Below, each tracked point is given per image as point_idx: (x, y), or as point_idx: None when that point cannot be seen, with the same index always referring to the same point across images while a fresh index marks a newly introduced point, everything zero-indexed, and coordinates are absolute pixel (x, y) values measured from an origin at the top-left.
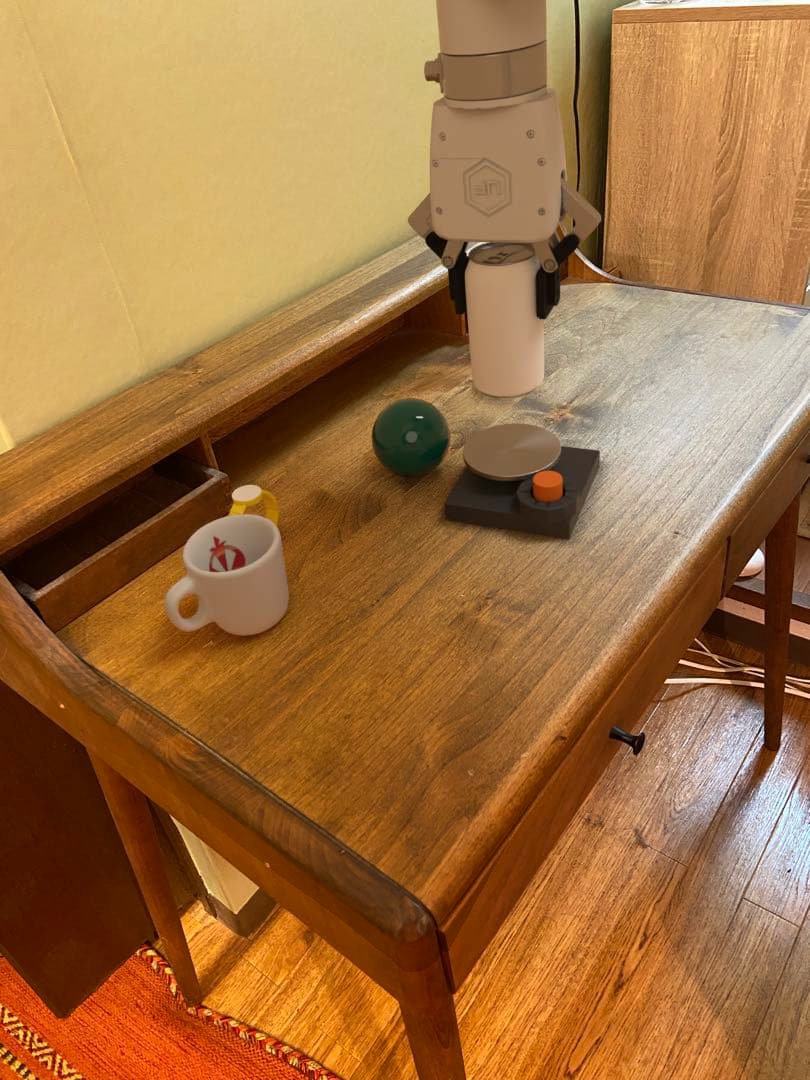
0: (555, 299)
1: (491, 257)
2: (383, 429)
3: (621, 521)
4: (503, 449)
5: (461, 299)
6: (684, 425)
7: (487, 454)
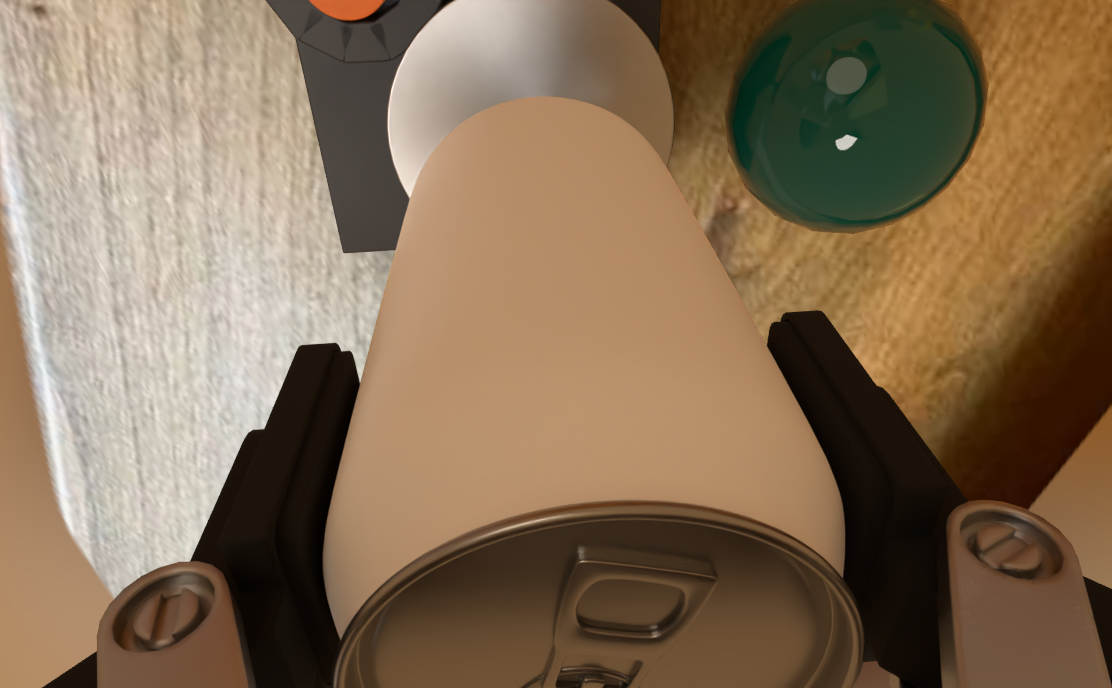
0: (243, 450)
1: (668, 629)
2: (952, 38)
3: (191, 18)
4: None
5: (809, 364)
6: (247, 422)
7: (591, 87)
